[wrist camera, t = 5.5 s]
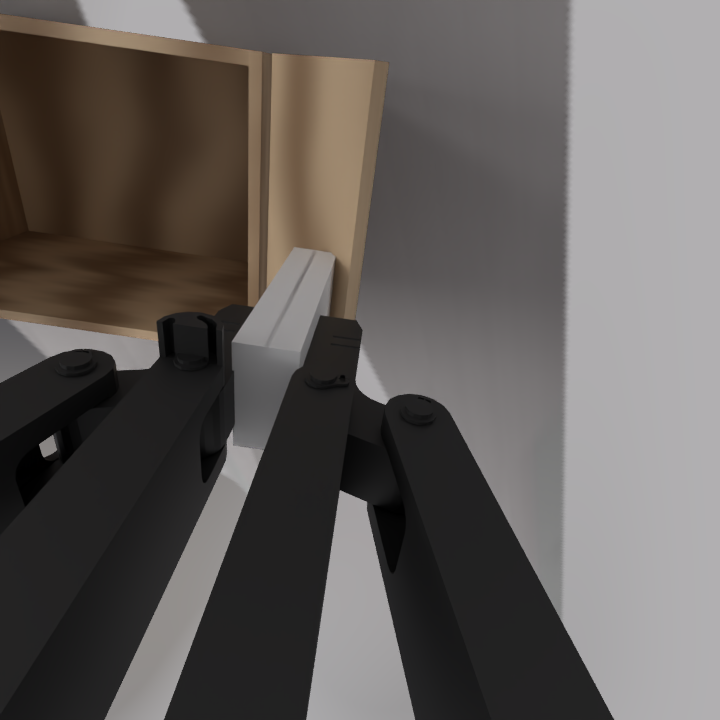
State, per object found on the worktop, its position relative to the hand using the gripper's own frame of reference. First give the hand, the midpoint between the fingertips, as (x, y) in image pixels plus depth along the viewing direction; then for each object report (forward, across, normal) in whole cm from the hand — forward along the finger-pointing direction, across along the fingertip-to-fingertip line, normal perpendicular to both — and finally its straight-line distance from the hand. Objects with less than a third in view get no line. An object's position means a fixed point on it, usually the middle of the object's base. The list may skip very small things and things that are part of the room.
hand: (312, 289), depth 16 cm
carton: (+18, -13, 0) cm, 22 cm away
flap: (+2, -1, 0) cm, 2 cm away
